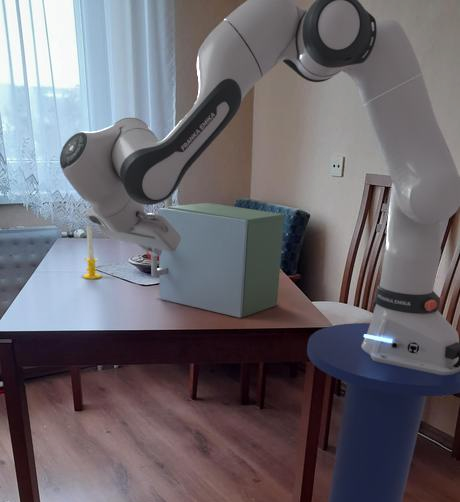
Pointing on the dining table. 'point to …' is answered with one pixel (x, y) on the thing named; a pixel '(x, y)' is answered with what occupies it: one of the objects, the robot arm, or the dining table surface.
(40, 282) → the dining table surface
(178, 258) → the cupboard door
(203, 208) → the cupboard
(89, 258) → the candle
